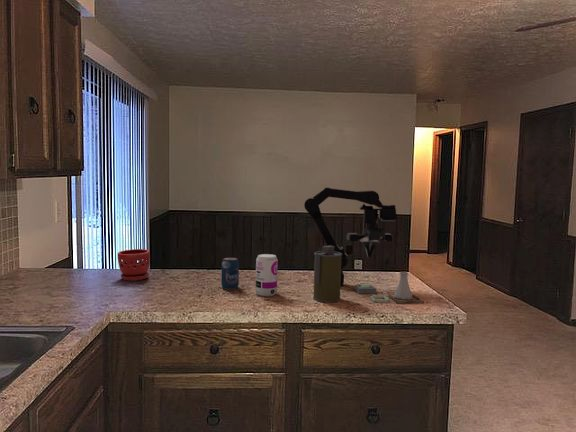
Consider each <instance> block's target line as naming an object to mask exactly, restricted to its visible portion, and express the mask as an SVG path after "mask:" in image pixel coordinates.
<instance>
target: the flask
mask: <svg viewBox="0 0 576 432" xmlns="http://www.w3.org/2000/svg"><path fill="white" fill-rule="evenodd" d="M399 274H400V278H399V282H398V285H397V287H396V289H395V292H394V294H393V296H392V297H393V298H395V299H396V300H401V301H402V300H412V299H413V298H414V297H412V291H411V289H410V285H409V281H408V278H409V276H408V275H409V272H408V271H400V272H399Z"/></svg>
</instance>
